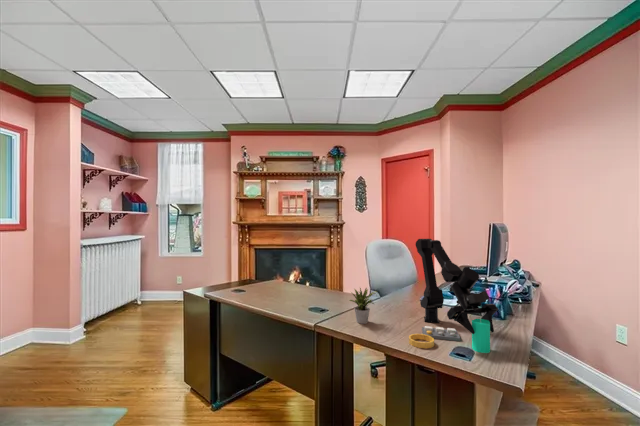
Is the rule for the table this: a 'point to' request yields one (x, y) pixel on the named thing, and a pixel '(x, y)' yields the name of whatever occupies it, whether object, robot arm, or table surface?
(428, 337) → the ring
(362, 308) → the house plant
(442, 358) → the table surface
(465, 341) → the table surface
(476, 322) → the candle
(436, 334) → the breaker panel
